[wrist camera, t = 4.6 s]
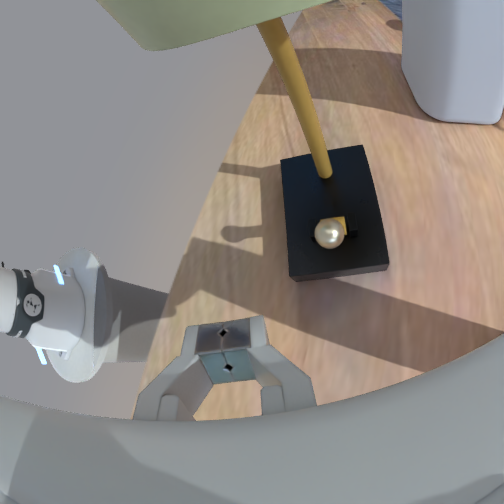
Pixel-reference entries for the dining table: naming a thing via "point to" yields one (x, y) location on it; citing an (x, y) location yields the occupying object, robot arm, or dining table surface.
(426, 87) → the plastic bottle
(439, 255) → the dining table surface
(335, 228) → the lamp switch
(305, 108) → the lamp
